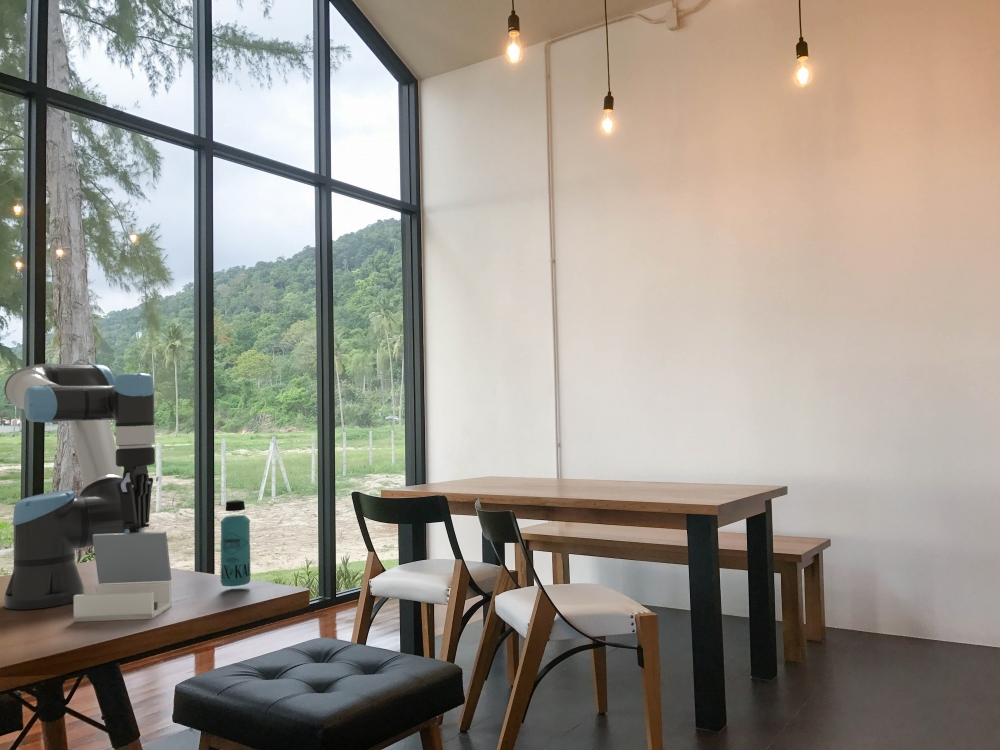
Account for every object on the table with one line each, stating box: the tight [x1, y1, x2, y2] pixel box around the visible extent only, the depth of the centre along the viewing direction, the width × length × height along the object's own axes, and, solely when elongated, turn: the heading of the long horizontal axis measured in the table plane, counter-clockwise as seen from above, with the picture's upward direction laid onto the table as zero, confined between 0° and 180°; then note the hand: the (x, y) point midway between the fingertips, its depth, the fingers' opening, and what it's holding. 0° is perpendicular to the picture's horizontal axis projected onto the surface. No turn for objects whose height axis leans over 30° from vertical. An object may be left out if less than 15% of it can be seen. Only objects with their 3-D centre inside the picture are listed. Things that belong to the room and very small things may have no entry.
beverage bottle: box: [219, 499, 252, 587], centre depth 179 cm, size 6×7×20 cm
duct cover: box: [92, 531, 172, 585], centre depth 164 cm, size 11×15×1 cm
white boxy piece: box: [73, 581, 172, 623], centre depth 160 cm, size 10×15×5 cm, turn 92°
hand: (136, 559), depth 166 cm, fingers closed
